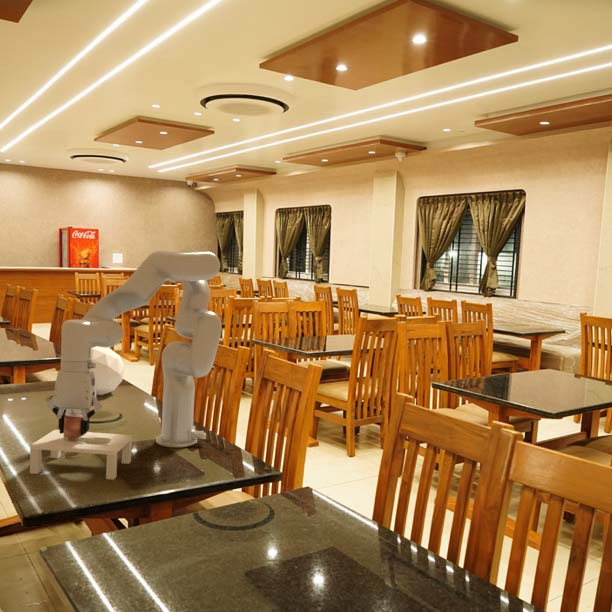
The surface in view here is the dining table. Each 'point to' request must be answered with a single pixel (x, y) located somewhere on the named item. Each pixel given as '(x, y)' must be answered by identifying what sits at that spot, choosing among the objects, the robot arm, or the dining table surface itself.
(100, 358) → the ball
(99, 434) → the keyhole plate
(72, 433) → the peg
